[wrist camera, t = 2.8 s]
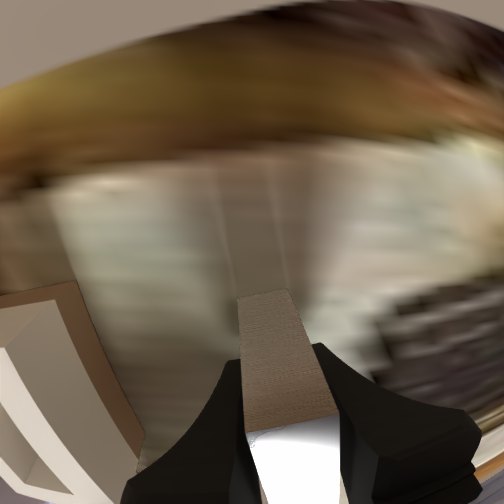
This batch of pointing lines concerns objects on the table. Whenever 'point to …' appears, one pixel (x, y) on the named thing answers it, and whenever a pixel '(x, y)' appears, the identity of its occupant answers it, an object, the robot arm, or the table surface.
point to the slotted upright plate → (61, 403)
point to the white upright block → (287, 404)
